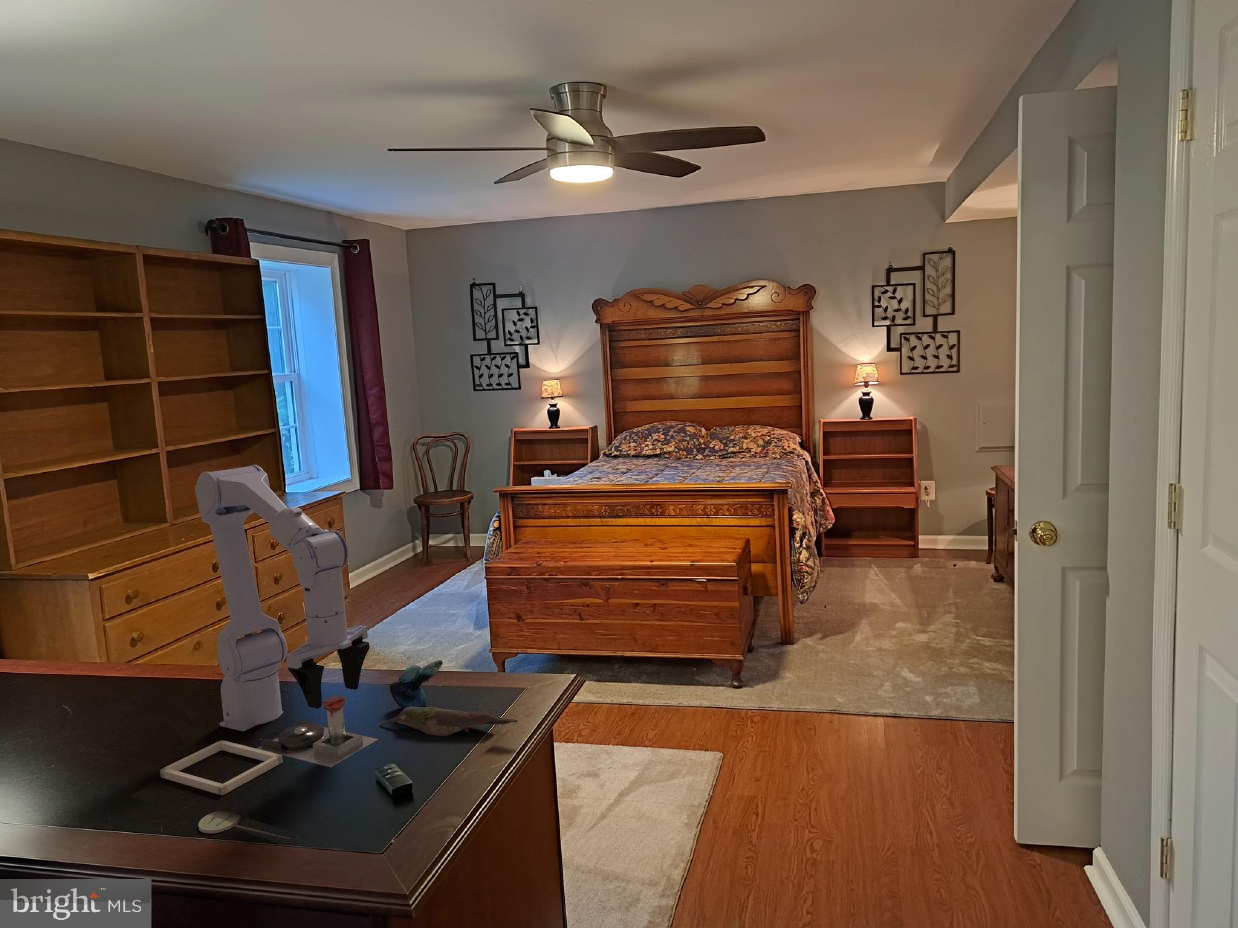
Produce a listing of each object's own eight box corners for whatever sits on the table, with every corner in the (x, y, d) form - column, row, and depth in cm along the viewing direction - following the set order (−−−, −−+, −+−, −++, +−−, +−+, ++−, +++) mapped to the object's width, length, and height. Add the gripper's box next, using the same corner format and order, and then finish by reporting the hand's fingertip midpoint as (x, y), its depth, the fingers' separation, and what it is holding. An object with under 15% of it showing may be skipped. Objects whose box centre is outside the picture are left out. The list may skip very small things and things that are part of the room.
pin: (323, 751, 135) (318, 703, 134) (338, 742, 138) (334, 695, 137) (338, 754, 134) (333, 706, 133) (353, 745, 136) (349, 698, 135)
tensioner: (257, 755, 137) (255, 737, 137) (306, 729, 146) (304, 712, 146) (331, 774, 130) (329, 755, 130) (378, 746, 139) (377, 728, 138)
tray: (161, 784, 129) (159, 769, 129) (223, 753, 139) (221, 739, 138) (223, 802, 123) (221, 787, 123) (283, 769, 132) (281, 755, 132)
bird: (524, 735, 140) (522, 705, 140) (512, 749, 136) (510, 719, 135) (383, 725, 147) (381, 696, 146) (367, 738, 142) (364, 709, 141)
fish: (441, 721, 147) (437, 664, 146) (386, 718, 149) (381, 662, 148) (451, 710, 151) (447, 655, 150) (397, 708, 153) (393, 653, 152)
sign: (276, 847, 111) (189, 825, 116) (276, 853, 111) (190, 831, 117) (305, 825, 115) (220, 806, 121) (306, 831, 116) (221, 811, 121)
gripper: (307, 629, 125) (316, 719, 126) (379, 601, 137) (386, 683, 139) (273, 624, 128) (282, 712, 130) (346, 597, 141) (353, 677, 142)
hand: (333, 697), depth 135 cm, fingers open, 7 cm apart
